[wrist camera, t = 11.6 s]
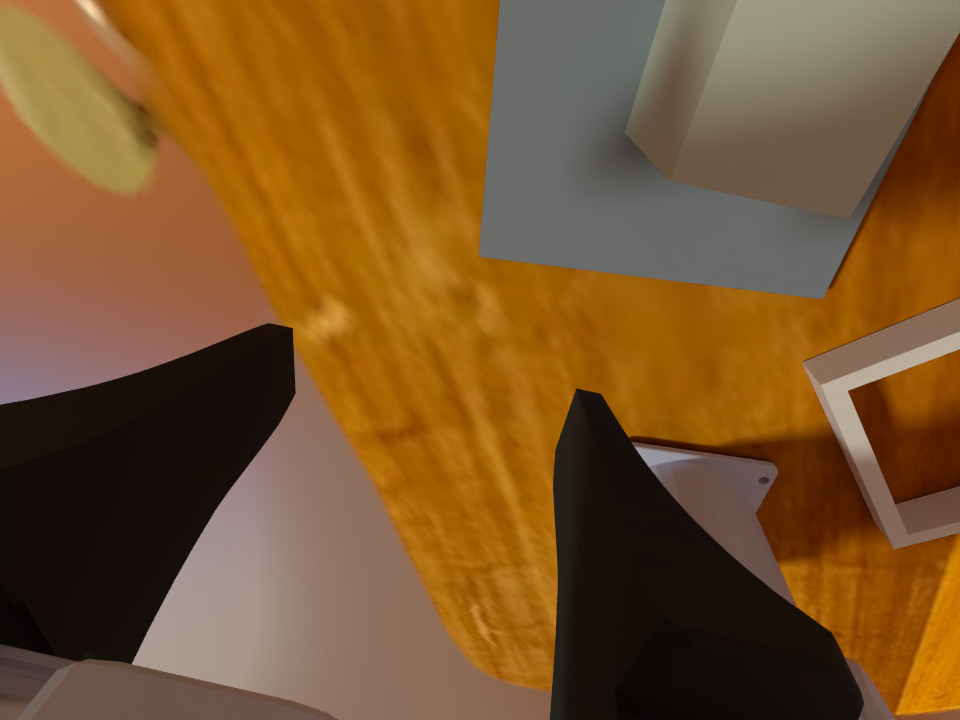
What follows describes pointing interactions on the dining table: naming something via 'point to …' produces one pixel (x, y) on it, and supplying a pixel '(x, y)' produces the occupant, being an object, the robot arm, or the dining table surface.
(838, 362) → the rectangular frame
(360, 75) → the dining table surface
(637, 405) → the dining table surface
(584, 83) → the mat
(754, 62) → the block
